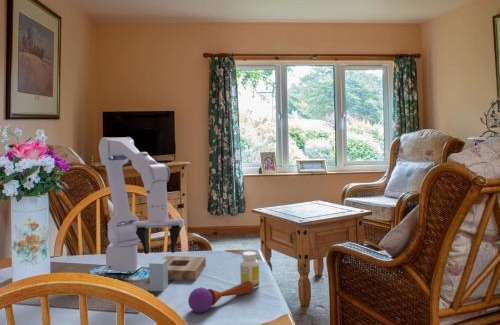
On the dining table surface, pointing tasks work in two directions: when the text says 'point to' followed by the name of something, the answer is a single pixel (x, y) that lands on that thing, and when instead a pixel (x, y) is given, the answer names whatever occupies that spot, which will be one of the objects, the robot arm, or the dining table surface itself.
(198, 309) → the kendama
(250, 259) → the supplement bottle
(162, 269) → the peg
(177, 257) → the socket block
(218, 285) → the dining table surface
